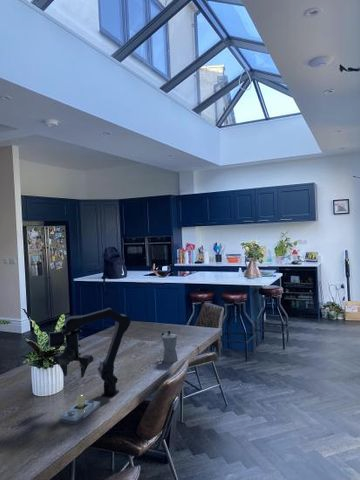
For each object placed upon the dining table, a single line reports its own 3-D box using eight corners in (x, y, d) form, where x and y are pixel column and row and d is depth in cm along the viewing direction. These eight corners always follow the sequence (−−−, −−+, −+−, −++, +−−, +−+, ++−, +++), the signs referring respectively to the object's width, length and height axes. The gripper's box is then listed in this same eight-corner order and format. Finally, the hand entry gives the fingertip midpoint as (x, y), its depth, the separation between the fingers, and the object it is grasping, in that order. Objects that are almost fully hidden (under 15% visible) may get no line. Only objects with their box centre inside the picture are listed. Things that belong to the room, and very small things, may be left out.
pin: (80, 411, 167) (79, 393, 167) (86, 412, 166) (85, 394, 166) (76, 414, 164) (75, 396, 164) (82, 415, 163) (81, 397, 163)
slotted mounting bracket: (85, 403, 175) (85, 395, 175) (100, 405, 172) (100, 397, 172) (60, 421, 158) (60, 413, 158) (76, 424, 155) (75, 416, 155)
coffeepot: (182, 361, 225) (181, 331, 225) (169, 365, 220) (168, 334, 220) (169, 354, 238) (168, 326, 238) (156, 358, 233) (155, 329, 233)
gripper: (44, 348, 171) (46, 381, 172) (79, 350, 166) (81, 385, 166) (59, 341, 182) (61, 372, 182) (93, 342, 176) (94, 375, 177)
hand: (74, 376), depth 177 cm, fingers open, 9 cm apart
